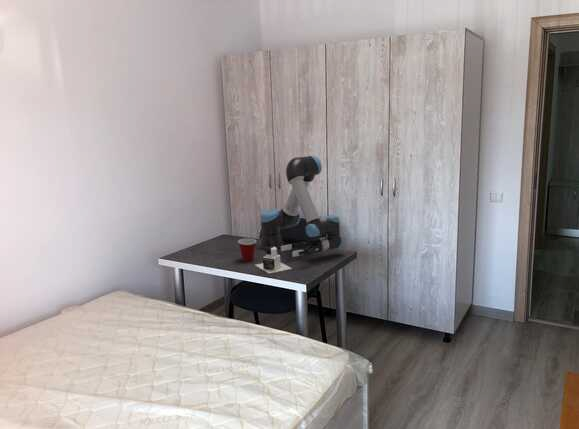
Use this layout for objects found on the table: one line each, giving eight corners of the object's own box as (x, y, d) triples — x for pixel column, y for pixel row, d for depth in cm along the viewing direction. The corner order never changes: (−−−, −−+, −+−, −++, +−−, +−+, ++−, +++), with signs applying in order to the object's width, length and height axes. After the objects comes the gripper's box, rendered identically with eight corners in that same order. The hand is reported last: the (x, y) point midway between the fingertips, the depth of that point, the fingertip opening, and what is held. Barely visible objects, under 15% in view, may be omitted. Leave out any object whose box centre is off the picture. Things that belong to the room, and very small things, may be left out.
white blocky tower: (263, 269, 259) (262, 248, 256) (269, 265, 265) (268, 245, 262) (274, 271, 255) (273, 249, 253) (281, 267, 261) (280, 246, 259)
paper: (254, 265, 268) (254, 264, 268) (276, 260, 275) (276, 260, 275) (268, 273, 253) (268, 273, 253) (291, 268, 259) (291, 268, 259)
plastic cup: (248, 264, 271) (247, 243, 268) (235, 261, 278) (233, 241, 275) (261, 259, 279) (260, 239, 276) (248, 256, 286) (247, 237, 283)
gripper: (331, 256, 263) (298, 263, 253) (308, 246, 284) (277, 252, 275) (331, 243, 261) (297, 249, 251) (308, 234, 283) (276, 240, 273)
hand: (286, 251), depth 263 cm, fingers open, 13 cm apart
